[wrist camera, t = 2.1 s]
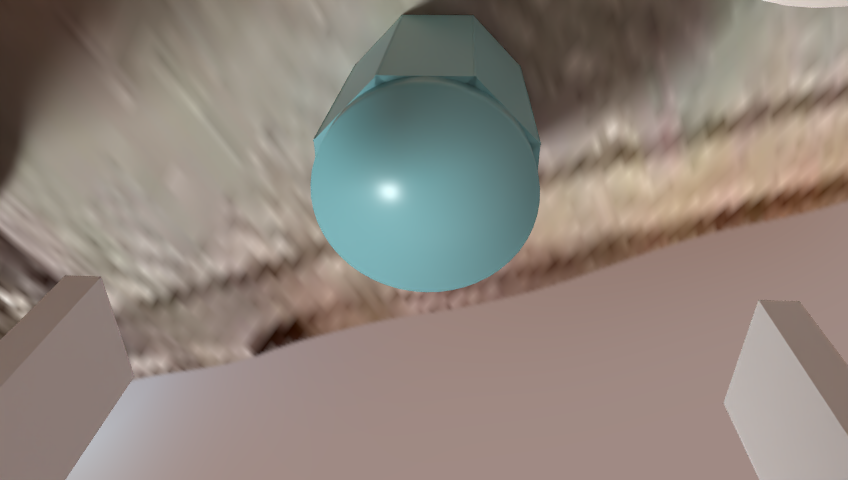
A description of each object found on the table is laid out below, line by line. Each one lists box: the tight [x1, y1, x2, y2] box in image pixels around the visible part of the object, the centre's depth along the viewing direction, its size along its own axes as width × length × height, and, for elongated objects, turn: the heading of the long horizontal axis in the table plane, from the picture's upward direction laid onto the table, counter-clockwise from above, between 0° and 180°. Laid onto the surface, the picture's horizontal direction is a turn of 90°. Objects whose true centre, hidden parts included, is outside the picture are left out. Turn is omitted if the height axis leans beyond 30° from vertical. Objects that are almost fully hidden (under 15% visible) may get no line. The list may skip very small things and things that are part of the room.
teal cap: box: [311, 15, 541, 292], centre depth 22 cm, size 7×7×9 cm
